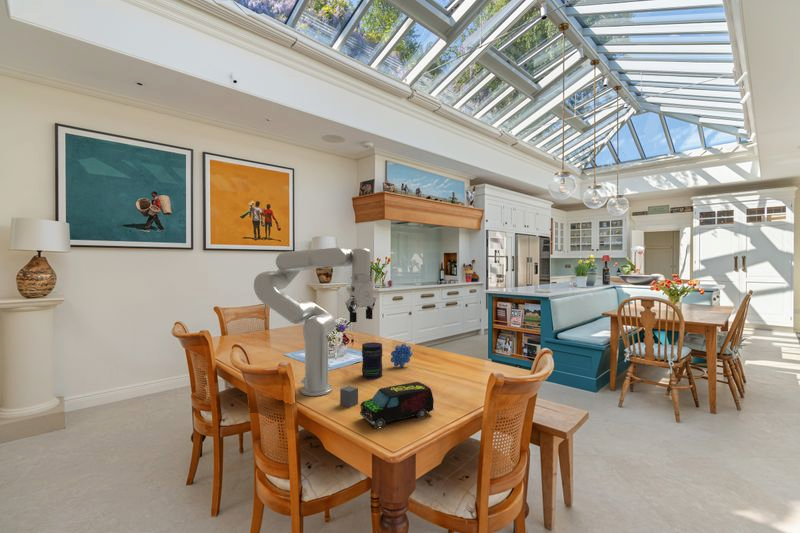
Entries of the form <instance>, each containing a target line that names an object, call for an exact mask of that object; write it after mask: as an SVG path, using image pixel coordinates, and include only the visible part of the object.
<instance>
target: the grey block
mask: <svg viewBox="0 0 800 533" xmlns="http://www.w3.org/2000/svg"><path fill="white" fill-rule="evenodd" d="M339 390H340V391H339V394H340V395H339V400H340V401H339V402H340V403H339V404H340V406H343V407H346V408H352V407H355V406H357V405H358V404H359V388H358V387H356V386H355V387H354V386H350V385H347V386H344V387H342V388H340V389H339Z"/></svg>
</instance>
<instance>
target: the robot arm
mask: <svg viewBox="0 0 800 533" xmlns="http://www.w3.org/2000/svg"><path fill="white" fill-rule="evenodd" d="M275 264H276V268H277V269H278V270H270V271H268V270H267V271H263V272H260V273H259V274H257V275H256V276H255V278H254V280H253V289H254V293H255V295H256V298H258V299H259V301H261V303H263V304H264V305H266V307H268V308H270V309H271V310H273V311H274V312H276V313H277V314H279V315H280V316H281V317H283V318H284V319H285V320H287V321H289V323H291V324H293V325H300V324H303V326H302V334H303V335H302V336H303V341H304V377H303V379H301V380H300V383H301V384H303V387H301V394H302V395H305V396H308V397H317V396H323V395H326V394H330V393H331V392H332V391H333V386H332V385H331V384H330V383H329V343H328V340H327V335H330V334H332V333H333V331H334V330H335V329H336V319H335V317H334V316H333V315H332V314H331V313H330V312H328V311H327V310H326V309H324V308H322V307H321V306H319V305H318V304H316V303H315V302H313V301H310V300H300V301H299V300H296V299H294V298H293V297H291V296H290V295H288V293H285V292H283V291H281V290H283V289H285V288H287V287H288V286H289V285H290V284H291V283H292V282H293V281H294V279H295V278H296V277H297V276H298V275H299V274H300V273H301V271H313V270H317V269H319V268H320V269H321V268H334V267H350V266H351V278H350V279H351V283H350V291H349V298H347V300H345V301H344V303H345V306H346V309H347V310H348V313H349V322H350V323H357V318H358V317H357V316H358V313H357V309H358V308H365V307H366V309H365V319H366V320H373V311H374V307H375V303H376V299H377V298H376V297H374V288H373V283H372V281H371V250H370V249H368V248H363V247H362V248H352V249H351V248H344V247H329V248H328V247H327V248H317V249H306V250H305V249H303V250H293V251H284V252H280V253H279V254H278V255H277V256H276V258H275Z"/></svg>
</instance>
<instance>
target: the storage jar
mask: <svg viewBox="0 0 800 533" xmlns="http://www.w3.org/2000/svg"><path fill="white" fill-rule="evenodd" d="M361 347H362V348H361V357H362V364H361V372H362V374H361V375H362V376H361V377H362V378H363V379H365V378H366V379H365V380H377V379H381V378H382V377H383V372H384V370H383V369H384V368H383V355H384V354H383V353H384V352H383V343H381V342H375V341H374V342H364V343H362V344H361Z"/></svg>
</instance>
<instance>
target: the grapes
mask: <svg viewBox="0 0 800 533" xmlns="http://www.w3.org/2000/svg"><path fill="white" fill-rule="evenodd" d="M411 350H412V347H411V346H410V345H407V344H406V343H402V344H401V345H396V346H395V347H394V350H392V351H391V353H390V356H391V358H390V362H391V363H393V365H394V367H404V366H405V365H406V364H409V363H410V361H411V357H412V356H413V351H411Z"/></svg>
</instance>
